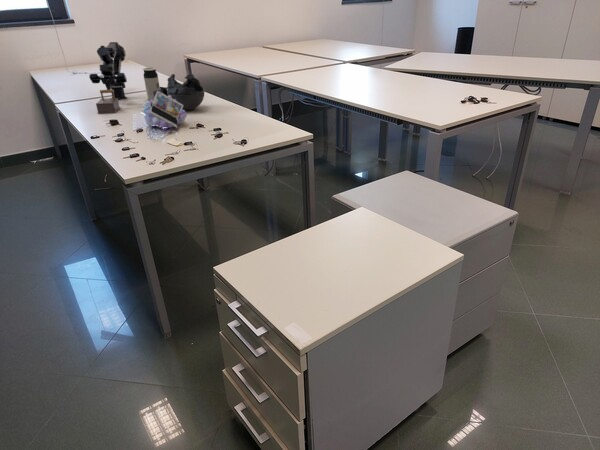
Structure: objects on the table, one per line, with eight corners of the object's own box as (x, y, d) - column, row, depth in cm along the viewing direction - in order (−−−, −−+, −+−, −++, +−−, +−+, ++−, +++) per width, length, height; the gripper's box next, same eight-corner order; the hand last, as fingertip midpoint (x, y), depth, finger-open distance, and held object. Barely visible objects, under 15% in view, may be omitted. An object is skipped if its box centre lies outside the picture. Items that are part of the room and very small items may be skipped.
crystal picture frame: (166, 107, 220) (147, 81, 205) (199, 110, 211) (182, 82, 197) (147, 136, 211) (126, 111, 196) (181, 140, 203) (162, 114, 188)
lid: (101, 99, 235) (98, 89, 232) (117, 99, 236) (115, 88, 233) (96, 104, 225) (93, 94, 222) (113, 104, 226) (111, 93, 223)
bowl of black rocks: (213, 109, 235) (209, 74, 225) (183, 116, 222) (177, 80, 213) (192, 103, 246) (188, 70, 237) (162, 109, 234) (157, 74, 224)
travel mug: (145, 100, 253) (139, 69, 244) (153, 97, 259) (148, 67, 250) (155, 101, 250) (150, 70, 241) (164, 98, 256) (159, 67, 247)
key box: (103, 108, 237) (101, 99, 234) (119, 107, 238) (117, 99, 236) (98, 113, 227) (96, 105, 225) (115, 112, 228) (113, 104, 226)
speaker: (167, 102, 246) (163, 85, 240) (171, 105, 242) (167, 87, 236) (155, 106, 243) (150, 88, 237) (159, 108, 239) (154, 90, 233)
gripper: (85, 58, 229) (85, 83, 225) (121, 57, 232) (121, 82, 228) (92, 70, 240) (92, 94, 236) (126, 69, 243) (127, 93, 239)
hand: (108, 91), depth 234 cm, fingers closed
